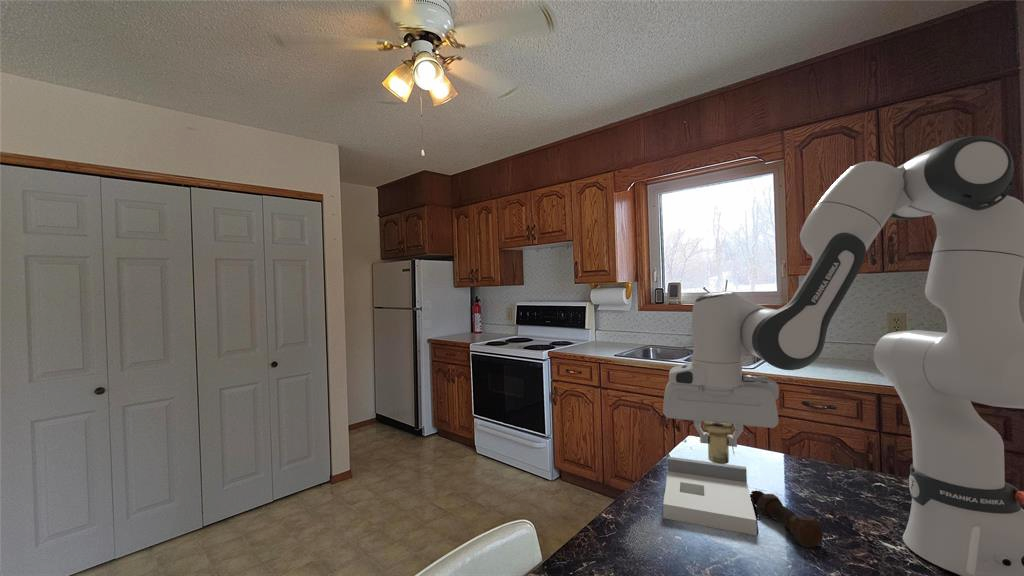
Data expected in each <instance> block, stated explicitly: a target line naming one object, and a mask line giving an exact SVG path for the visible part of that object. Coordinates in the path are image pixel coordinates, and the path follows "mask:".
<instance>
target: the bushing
mask: <svg viewBox="0 0 1024 576" xmlns="http://www.w3.org/2000/svg"><path fill="white" fill-rule="evenodd" d="M702 422H703V423H702V424H703V430H704V431H706V432H707V433H708V445H707V447H708V448H707V449H708V450H707V453H708V458H707V459H708V461H709V462H713V463H718V464H729V463H730V460H729V459H730V451H729V447H730V446H728V435H732V434H733V433H734V425H733V424H727V423H716V422H706V421H702Z"/></svg>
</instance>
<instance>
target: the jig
mask: <svg viewBox="0 0 1024 576" xmlns="http://www.w3.org/2000/svg"><path fill="white" fill-rule="evenodd" d="M664 489H665V490H664V495H663V503H662V509H663V511H662V512H663V513H662V514H663V519H666V520H672V521H676V522H682V523H686V524H687V523H688V524H692V525H699V526H704V527H707V528H708V527H709V528H715V529H721V530H725V531H730V532H736V533H742V534H746V535H751V536H756V537H757V536H758V533H757V531H758V529H757V518H756V513H755V509H754V506H753V505H754V504H753V503H752V501H751V497H750V494H751V492H750V490H749V484H748V477H747V466H743V465H742V466H741V465H736V464H729V463H727V464H718V463H714V462H711V461H705V460H698V459H688V458H681V457H675V456H667V475H666V481H665V488H664Z"/></svg>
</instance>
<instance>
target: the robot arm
mask: <svg viewBox="0 0 1024 576" xmlns="http://www.w3.org/2000/svg"><path fill="white" fill-rule="evenodd" d="M1014 166H1015V165H1014V160H1013V156H1012V154H1011V152H1010V150H1009V149H1008V147H1007V146H1006V145H1005V144H1004V143H1003V142H1002V141H1000V140H999V139H997V138H994V137H991V136H988V135H970V136H963V137H959V138H955V139H952V140H948V141H946V142H944V143H941V144H940V145H938V146H937V147H934V148H932V149H929V150H927V151H925V152H923V153H920V154H918V155H916V156H913V157H912V158H911V159H910V160H907V161H906V162H903V164H901V165H899V166H897V167H894V166H893V165H891V164H889V163H886V162H881V161H876V160H875V161H873V160H872V161H871V160H869V161H862V162H859V163H856V164H854V165H852V166H850V167H849V168H848V169H847V170H845V172H843V174H841V175H840V176H839V177H838V178H837V179H836V180H835V181H834V182H833V184H831V186H830V187H829V188H827V190H826V192H825V193H824V194H823V195H822V196H821V198H820V199H819V200H818V201H817V203H816V204H815V206H814V207H813V208H812V210H811V212H810V213H809V215H808V216H807V217H806V220H805V221H804V223H803V224H802V228H801V230H800V233H799V239H800V243H801V246H802V247H803V249H804V250H805V252H806V253H807V254H808V255H809V256H811V259H812V261H811V265H810V268H809V270H808V271H807V272H806V275H805V276H804V278H803V280H802V281H801V282H800V284H799V286H798V288H797V290H796V291H795V292H794V294H793V296H792V297H791V299H790V300H789V301H788V303H787V304H785V305H784V306H781V307H780V308H778V309H775V308H769V307H766V306H763V305H760V304H758V303H754V302H752V301H750V300H748V299H745V298H744V297H742V296H740V295H738V294H737V293H736V292H735V291H731V290H726V291H725V290H723V291H715V292H714V291H713V292H708V293H705V294H703V295H700V296H699V297H698V298H696V299H695V301H694V303H693V306H692V311H691V313H692V314H691V340H692V342H693V351H692V355H691V362H689V363H685V364H680V365H676V366H673V367H672V368H671V369H670V370H669V371H668V379H669V381H668V382H667V384H666V386H665V390H664V395H663V403H662V404H663V405H662V413H663V415H664V416H665V417H666V418H667V419H677V420H685V421H686V420H687V421H693V426H694V428H695V429H696V431H697V433H698V434H699V442H700V444H708V431H706V432H705V431H703V430H704V429H702V424H703V423H702V422H705V421H706V422H716V423H727V424H731V425H733V428H734V429H735V430H733V432H732V433H731V434H728V446H729V447H732V448H737V447H738V439H739V438H740V436H741V434H742V433H743V432H744V426H749V427H758V428H759V427H760V428H771V429H774V428H775V427H776V426H777V425H779V413H778V407H777V403H776V400H777V399H778V398H779V396H780V394H779V393H780V392H779V390H780V388H779V384H778V383H777V381H775V380H774V379H772V378H770V377H769V376H755V375H744V374H743V360H742V359H743V356H745V355H752V356H754V357H755V358H759V359H762V360H763V361H764V362H766V363H768V365H771V366H772V367H774V368H776V369H780V370H784V371H798V370H801V369H804V368H806V367H808V366H810V365H811V364H814V362H815V361H816V360H818V358H819V357H820V355H821V353H822V351H823V350H824V346H825V342H826V338H827V332H828V329H829V325H830V322H831V320H832V319H833V316H835V313H836V312H837V310H838V308H839V306H840V304H841V302H842V301H843V300H844V298H845V297H846V294H847V292H848V291H849V289H850V288H851V287H852V284H853V282H854V281H855V279H856V277H857V276H858V273H859V272H860V270H861V268H862V267H863V265H864V262H865V259H866V254H867V251H868V250H869V248H870V246H871V245H872V243H873V241H874V240H875V239H876V238H877V235H879V233H880V232H881V230H882V229H883V227H884V226H885V224H886V223H887V221H888V220H889V219H890V218H891V219H894V220H901V221H902V220H903V221H904V220H906V221H908V220H917V219H920V218H924V217H926V216H931V218H932V219H933V222H934V224H935V228H936V238H935V242H934V246H933V249H932V252H931V253H932V254H931V260H930V263H929V267H928V272H927V277H926V283H925V288H924V295H925V297H926V300H928V301H929V302H930V303H931V304H932V305H933V306H935V307H937V308H938V309H940V310H941V311H942V313H943V315H944V317H945V321H946V330H947V331H946V332H942V331H930V330H921V329H913V330H912V329H911V330H901V331H894V332H889V333H886V334H885V335H883V336H882V337H881V338H879V340H878V341H877V342H876V344H875V347H874V350H873V361H874V364H875V367H876V369H878V371H880V373H881V374H883V376H884V377H886V379H887V380H888V381H890V383H891V384H892V386H893V388H894V390H896V392H897V394H898V397H899V398H900V400H901V402H902V405H903V406H904V408H905V411H906V415H907V418H908V420H909V426H910V431H911V433H910V435H911V446H912V448H911V449H912V463H911V464H910V465H909V466H910V467H909V476H908V478H909V479H908V480H909V481H908V482H909V483H908V484H909V485H908V487H909V492H910V497H911V506H910V513H909V517H908V521H907V525H906V526H905V527H906V528H905V531H904V533H903V534H902V541H903V543H904V544H905V546H907V548H908V549H910V551H912V552H913V553H914V554H916V555H918V556H919V557H921V558H922V559H924V560H926V561H927V562H929V563H932V564H933V565H936V566H938V567H940V568H942V569H944V570H947V571H949V572H951V573H954V574H957V575H959V576H1024V509H1023V508H1022V506H1021V504H1022V505H1023V506H1024V491H1023V490H1022V491H1021V490H1020V489H1019V488H1017V487H1016V486H1014V485H1012V484H1010V483H1009V482H1007V481H1006V479H1005V477H1006V476H1005V475H1006V474H1005V473H1006V472H1005V471H1006V470H1005V468H1006V467H1005V445H1004V441H1003V440H1004V439H1003V438H1002V436H1001V434H1000V433H999V432H998V431H997V429H995V427H993V426H991V425H990V424H989V423H988V422H987V421H985V420H984V419H983V418H982V417H981V416H980V415H979V413H978V412H977V411H976V410H975V408H974V405H973V404H972V402H973V403H977V404H978V403H979V404H981V405H986V406H990V407H998V408H1009V409H1023V410H1024V321H1023V318H1022V315H1021V310H1020V294H1021V287H1022V279H1023V274H1024V203H1023V201H1021V200H1020V199H1018V198H1017V197H1014V196H1010V195H1009V194H1010V193H1011V192H1012V190H1013V189H1014V186H1015V180H1014V178H1013V176H1014V172H1015V167H1014ZM1007 188H1008V189H1007Z"/></svg>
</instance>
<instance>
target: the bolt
mask: <svg viewBox="0 0 1024 576" xmlns="http://www.w3.org/2000/svg"><path fill="white" fill-rule="evenodd" d="M750 496H751V497H752V498H753V500H754V503H752V505H755V506H756V507H757V510H758V511H759V512H760V514H761V515H762V516H763V517H764V518H766V519H771V520H773V519H774V520H775V521H777V522H778V523H780V524H781V525H782V526H784V527H785V528H787V529H788V530H789V532H790V533H791V535H792V537H793V538H794V540H795V542H796V543H797V544H798V545H799V544H800V545H799V546H800V547H802V548H815V547H818V546H819V544H821V542H822V541H823V539H824V529H823V527H822V524H821V523H820V522H819V520H818V519H817V518H816V517H814V516H813V515H798V514H796V513H795V512H794V511H792V510H790V509H789V508H788V507H786V506H784V505H783V503H782V501H781V500H780V499H779V497H778V496H777V495H775V494H774V493H764V492H763V491H761V490H752V491H750Z"/></svg>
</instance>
